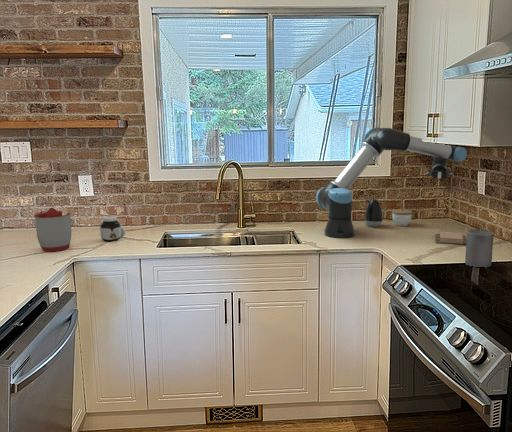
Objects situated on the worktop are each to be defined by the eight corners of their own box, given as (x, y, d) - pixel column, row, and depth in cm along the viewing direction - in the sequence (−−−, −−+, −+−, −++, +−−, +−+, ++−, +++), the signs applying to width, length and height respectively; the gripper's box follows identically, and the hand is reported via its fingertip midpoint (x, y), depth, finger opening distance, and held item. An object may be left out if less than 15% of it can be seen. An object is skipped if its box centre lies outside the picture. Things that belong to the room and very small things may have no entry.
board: (435, 234, 243) (435, 233, 243) (465, 236, 238) (465, 235, 238) (435, 243, 226) (435, 241, 226) (467, 245, 222) (467, 244, 222)
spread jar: (100, 242, 236) (98, 219, 234) (102, 237, 247) (101, 215, 245) (125, 240, 239) (123, 218, 236) (126, 235, 249) (125, 214, 247)
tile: (439, 231, 237) (440, 237, 225) (461, 233, 234) (463, 239, 222) (439, 236, 238) (440, 242, 226) (461, 237, 234) (462, 243, 222)
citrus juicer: (83, 246, 229) (80, 205, 225) (52, 255, 214) (47, 211, 210) (62, 242, 236) (58, 203, 233) (30, 250, 222) (26, 208, 218)
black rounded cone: (370, 223, 273) (371, 197, 270) (386, 225, 265) (387, 199, 262) (360, 225, 266) (360, 199, 263) (375, 228, 258) (377, 201, 256)
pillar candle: (473, 259, 198) (475, 224, 196) (496, 265, 191) (499, 228, 188) (459, 264, 193) (462, 228, 190) (482, 270, 185) (485, 232, 182)
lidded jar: (406, 222, 274) (407, 206, 272) (414, 226, 263) (415, 209, 261) (388, 223, 272) (389, 207, 270) (396, 227, 262) (397, 210, 260)
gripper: (451, 179, 259) (452, 183, 237) (426, 178, 263) (425, 182, 241) (452, 165, 257) (454, 168, 236) (427, 164, 262) (426, 167, 240)
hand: (439, 175), depth 239 cm, fingers closed
